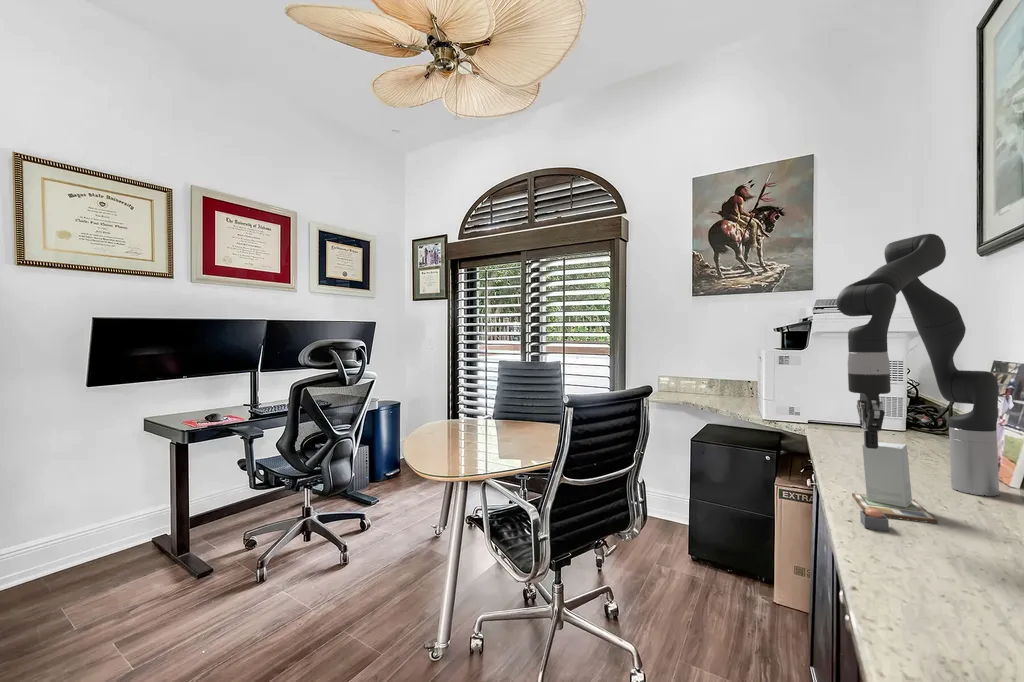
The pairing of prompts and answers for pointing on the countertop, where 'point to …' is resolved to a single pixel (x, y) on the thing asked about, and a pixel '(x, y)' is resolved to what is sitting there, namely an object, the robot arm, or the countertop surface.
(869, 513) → the button
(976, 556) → the countertop surface
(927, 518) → the picture board
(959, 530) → the countertop surface
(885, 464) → the skincare box
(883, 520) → the button housing
